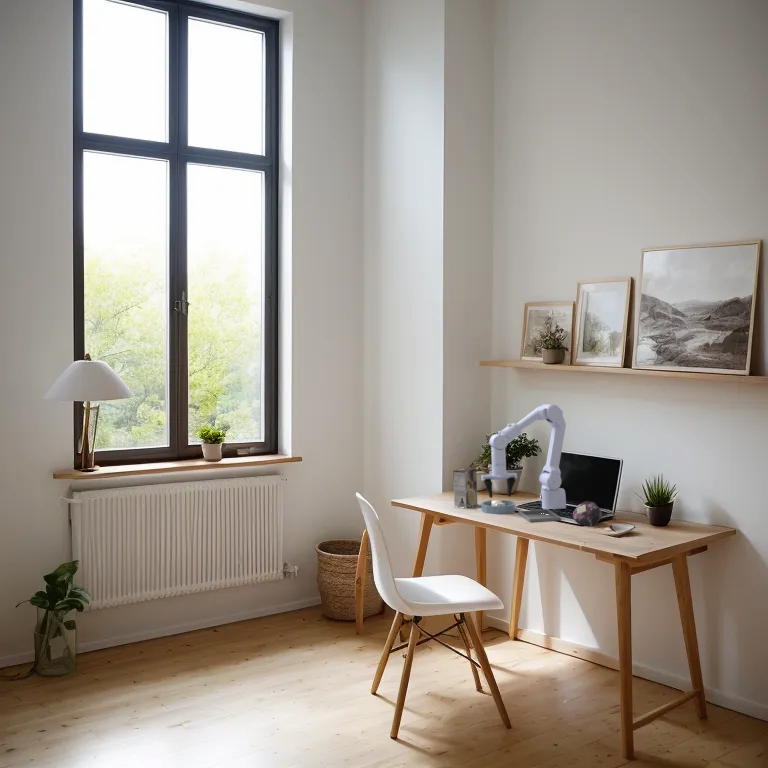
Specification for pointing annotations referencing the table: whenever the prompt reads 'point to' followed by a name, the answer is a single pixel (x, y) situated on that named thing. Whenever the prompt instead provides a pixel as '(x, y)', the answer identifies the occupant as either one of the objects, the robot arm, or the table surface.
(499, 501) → the light pebble
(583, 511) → the mineral specimen
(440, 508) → the table surface
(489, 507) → the bowl
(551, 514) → the parts tray
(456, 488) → the coffee box
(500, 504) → the cream rounded piece
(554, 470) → the robot arm
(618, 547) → the table surface
